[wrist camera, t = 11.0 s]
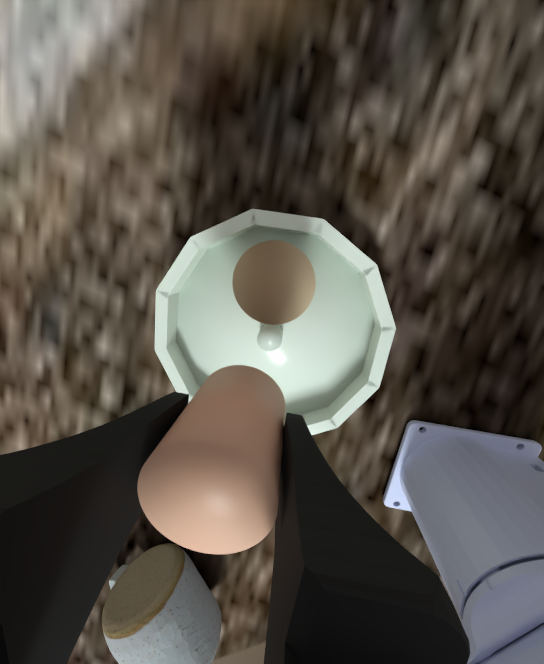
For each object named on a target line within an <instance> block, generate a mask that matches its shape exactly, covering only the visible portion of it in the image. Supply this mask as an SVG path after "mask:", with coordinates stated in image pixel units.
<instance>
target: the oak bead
mask: <svg viewBox="0 0 544 664" xmlns="http://www.w3.org/2000/svg"><path fill="white" fill-rule="evenodd" d="M232 285H233V292H234V296H235V298H236V301H237V303H238V304H239V306H240V307H241V309H242V310H243V311H244V312H245V313H246V314H247V315H248V316H250V317H251V318H252V319H254V320H256V321H258V322H261V323H264V324H270V325H279V324H284V323H288V322H290V321H293V320H294V319H296V318H298V317H299V316H300V315H301V314H303V313H304V312H305V310H306V309H307V308H308V307H309V305H310V303H311V301H312V299H313V296H314V293H315V287H316V279H315V273H314V269H313V267H312V264H311V262H310V261H309V259H308V258H307V256H306V255H305V254H304V253H303V252H302V251H301V250H300V249H298V248H297V247H296V246H294V245H292V244H290V243H287V242H283V241H277V240H270V241H264V242H261V243H258V244H256V245H254V246H252V247H251V248H249V249H248V250H247V251H246V252H245V253H244V254H243V255H242V256H241V257H240V259H239V260H238V262H237V264H236V266H235V269H234V272H233V279H232Z"/></svg>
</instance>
